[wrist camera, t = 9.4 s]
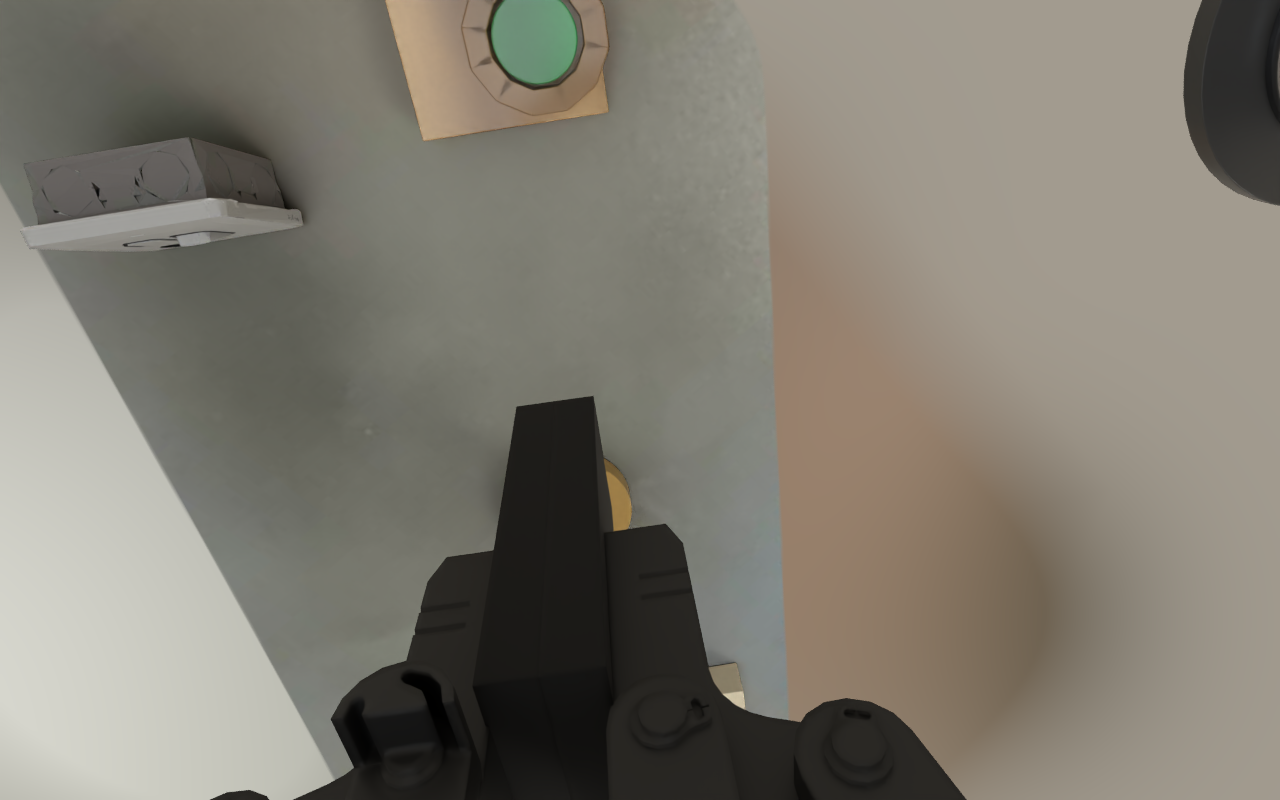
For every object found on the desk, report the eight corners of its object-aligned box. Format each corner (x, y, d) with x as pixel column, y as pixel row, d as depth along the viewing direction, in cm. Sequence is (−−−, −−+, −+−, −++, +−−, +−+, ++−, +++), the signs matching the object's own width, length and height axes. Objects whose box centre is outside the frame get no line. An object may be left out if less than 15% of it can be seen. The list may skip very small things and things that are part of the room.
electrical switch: (151, 250, 41) (35, 286, 32) (113, 157, 39) (-22, 169, 30) (311, 224, 41) (238, 253, 32) (281, 130, 39) (194, 135, 30)
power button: (569, -17, 33) (569, -19, 32) (584, 75, 35) (584, 77, 34) (485, -4, 33) (481, -5, 32) (505, 88, 35) (501, 90, 34)
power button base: (591, -63, 35) (592, -73, 32) (615, 106, 39) (619, 114, 36) (386, -30, 35) (365, -37, 32) (430, 136, 39) (416, 146, 36)
